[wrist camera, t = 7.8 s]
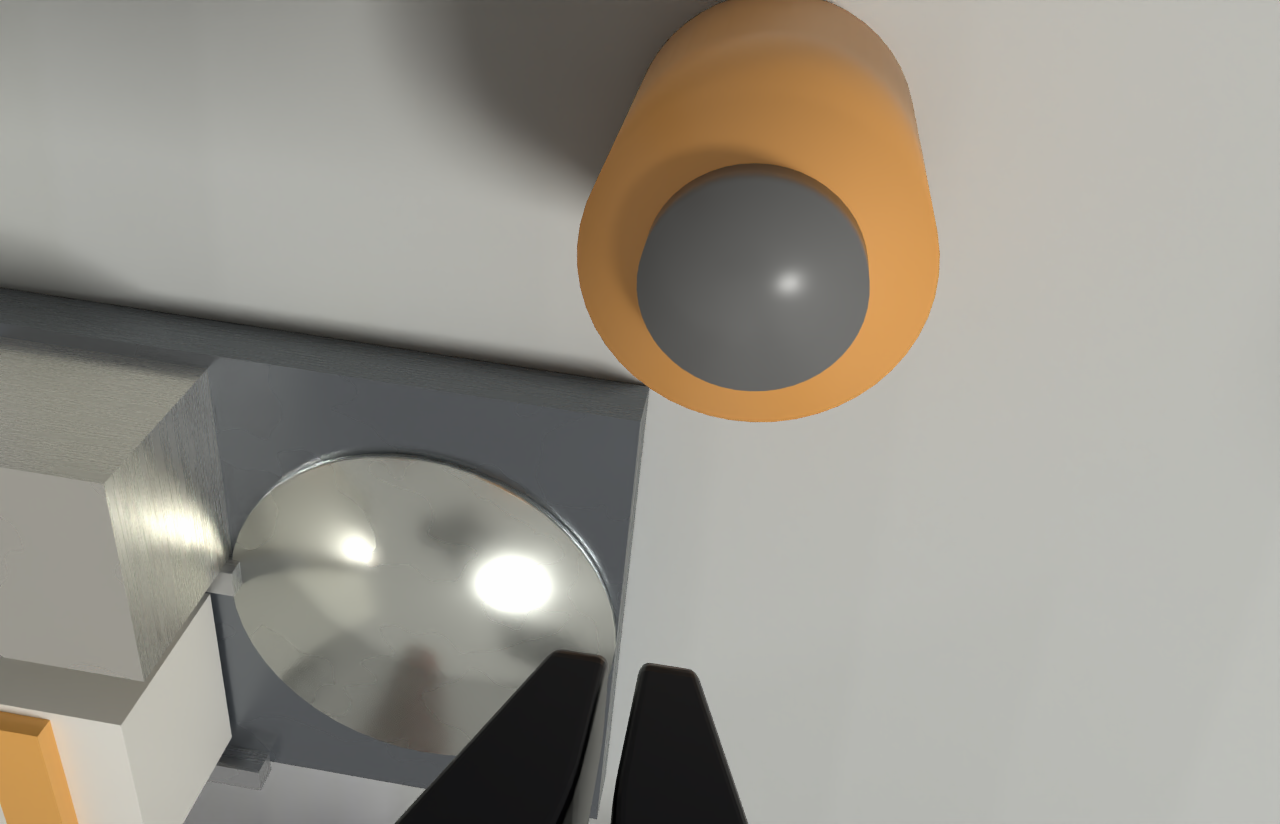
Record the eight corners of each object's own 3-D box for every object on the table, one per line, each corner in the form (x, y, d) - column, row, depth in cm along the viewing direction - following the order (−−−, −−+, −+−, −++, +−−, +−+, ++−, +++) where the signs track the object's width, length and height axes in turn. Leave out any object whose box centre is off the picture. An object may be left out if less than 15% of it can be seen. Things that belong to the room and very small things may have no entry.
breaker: (210, 594, 24) (109, 742, 21) (231, 737, 26) (145, 891, 23) (26, 563, 24) (-102, 705, 21) (65, 708, 27) (-45, 855, 23)
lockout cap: (944, 11, 17) (986, 137, 12) (882, 281, 20) (898, 470, 15) (645, -26, 17) (579, 82, 13) (622, 244, 20) (558, 418, 15)
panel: (649, 386, 21) (608, 550, 17) (604, 785, 27) (566, 974, 23) (-447, 220, 23) (-719, 336, 19) (-256, 634, 29) (-430, 788, 25)
